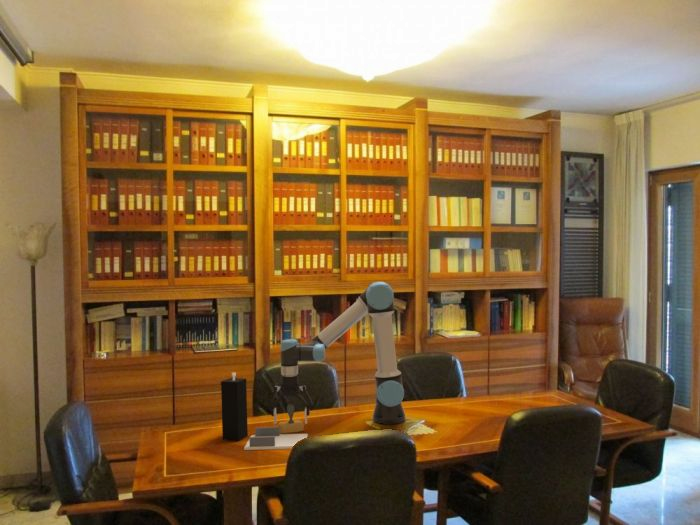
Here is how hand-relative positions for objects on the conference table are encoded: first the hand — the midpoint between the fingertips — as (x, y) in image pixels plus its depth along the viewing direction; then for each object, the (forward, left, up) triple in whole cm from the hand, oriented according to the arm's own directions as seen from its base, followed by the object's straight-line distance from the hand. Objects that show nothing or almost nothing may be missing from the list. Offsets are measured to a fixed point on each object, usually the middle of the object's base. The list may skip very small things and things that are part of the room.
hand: (290, 423), depth 241 cm
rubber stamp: (0, 0, -4) cm, 4 cm away
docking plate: (+4, +16, -3) cm, 17 cm away
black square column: (+23, +8, -4) cm, 24 cm away
